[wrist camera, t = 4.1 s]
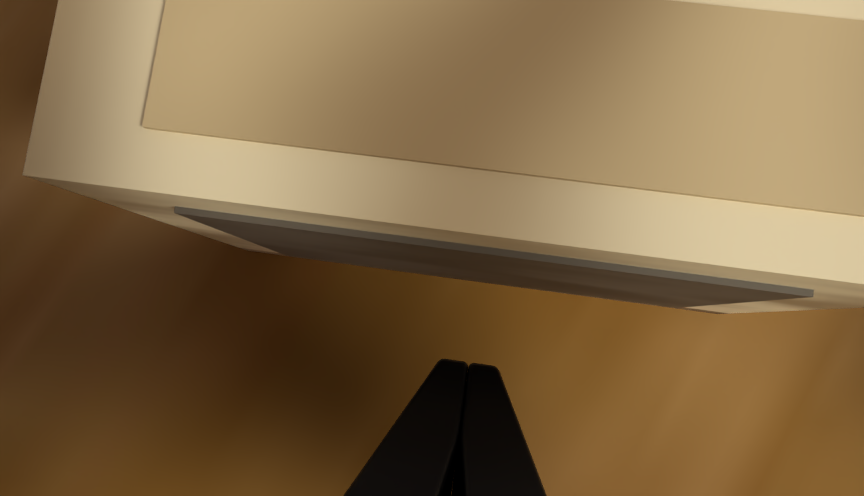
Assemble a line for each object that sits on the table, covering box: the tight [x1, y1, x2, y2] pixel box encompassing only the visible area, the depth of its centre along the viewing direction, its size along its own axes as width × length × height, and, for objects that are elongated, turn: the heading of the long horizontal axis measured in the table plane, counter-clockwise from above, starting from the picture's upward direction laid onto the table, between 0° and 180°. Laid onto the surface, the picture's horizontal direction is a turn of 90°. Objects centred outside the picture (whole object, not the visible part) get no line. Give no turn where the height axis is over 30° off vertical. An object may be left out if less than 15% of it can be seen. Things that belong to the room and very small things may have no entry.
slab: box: [22, 0, 864, 314], centre depth 13 cm, size 12×4×9 cm, turn 82°
